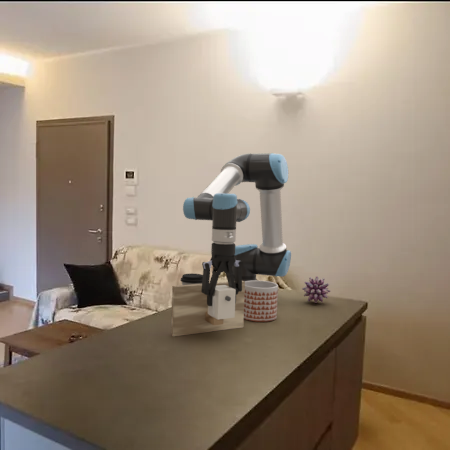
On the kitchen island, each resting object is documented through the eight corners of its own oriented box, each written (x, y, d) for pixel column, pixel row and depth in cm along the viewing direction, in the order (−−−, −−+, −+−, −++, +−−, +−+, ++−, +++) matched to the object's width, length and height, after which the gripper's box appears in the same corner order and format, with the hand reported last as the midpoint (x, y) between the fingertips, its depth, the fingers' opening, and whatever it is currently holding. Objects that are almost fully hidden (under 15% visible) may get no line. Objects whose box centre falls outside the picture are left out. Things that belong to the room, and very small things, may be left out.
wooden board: (171, 334, 148) (172, 285, 146) (240, 325, 160) (242, 280, 159) (180, 342, 141) (182, 291, 139) (252, 332, 153) (254, 285, 152)
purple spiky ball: (324, 300, 203) (326, 273, 202) (333, 307, 191) (334, 279, 190) (299, 299, 202) (300, 273, 201) (305, 306, 190) (307, 278, 189)
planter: (237, 320, 166) (239, 286, 166) (242, 311, 180) (244, 279, 179) (275, 323, 164) (276, 288, 163) (277, 314, 178) (279, 281, 177)
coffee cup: (201, 319, 167) (202, 278, 165) (176, 317, 168) (177, 276, 167) (206, 312, 176) (207, 274, 175) (182, 310, 177) (183, 272, 176)
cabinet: (207, 313, 147) (208, 286, 146) (224, 311, 150) (224, 284, 149) (219, 320, 140) (220, 291, 139) (236, 318, 143) (237, 290, 142)
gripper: (201, 244, 136) (199, 321, 137) (255, 243, 145) (252, 314, 146) (191, 241, 142) (189, 314, 144) (243, 240, 151) (240, 308, 153)
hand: (221, 314), depth 145 cm, fingers closed on cabinet, 6 cm apart
